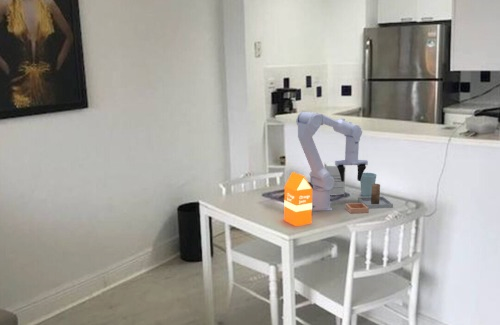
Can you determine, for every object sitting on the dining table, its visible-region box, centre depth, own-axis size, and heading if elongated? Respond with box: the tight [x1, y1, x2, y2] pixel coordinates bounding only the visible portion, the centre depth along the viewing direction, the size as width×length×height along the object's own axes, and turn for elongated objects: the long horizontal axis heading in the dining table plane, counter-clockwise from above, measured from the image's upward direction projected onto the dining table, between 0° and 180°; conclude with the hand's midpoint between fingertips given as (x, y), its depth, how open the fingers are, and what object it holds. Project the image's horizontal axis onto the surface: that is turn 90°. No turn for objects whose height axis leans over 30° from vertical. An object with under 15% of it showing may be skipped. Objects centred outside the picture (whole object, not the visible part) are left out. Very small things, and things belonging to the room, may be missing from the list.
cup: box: [359, 172, 377, 197], centre depth 248 cm, size 8×8×10 cm
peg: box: [371, 183, 381, 204], centre depth 233 cm, size 4×4×9 cm
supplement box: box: [323, 161, 346, 195], centre depth 251 cm, size 9×9×15 cm
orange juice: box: [283, 171, 313, 227], centre depth 210 cm, size 8×9×20 cm
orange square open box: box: [344, 202, 370, 214], centre depth 225 cm, size 8×8×3 cm
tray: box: [357, 196, 394, 209], centre depth 234 cm, size 12×12×2 cm
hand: (350, 180), depth 235 cm, fingers open, 7 cm apart
